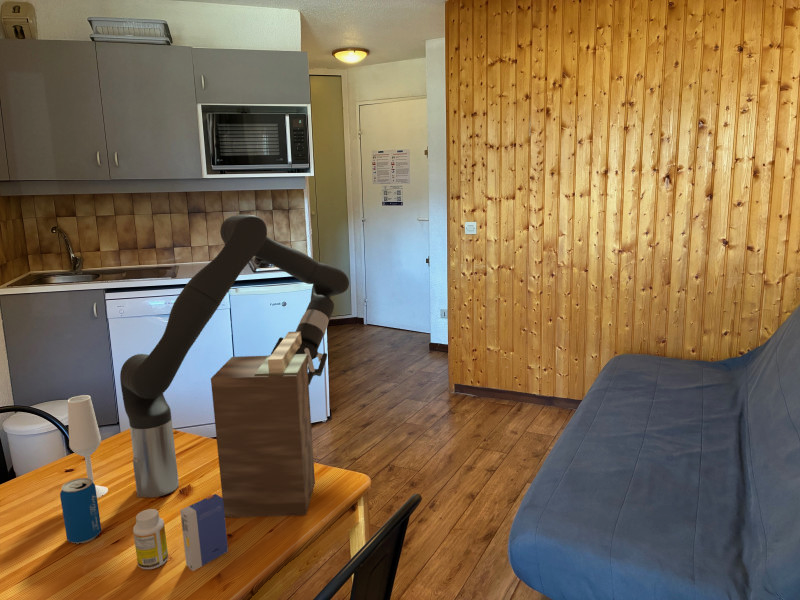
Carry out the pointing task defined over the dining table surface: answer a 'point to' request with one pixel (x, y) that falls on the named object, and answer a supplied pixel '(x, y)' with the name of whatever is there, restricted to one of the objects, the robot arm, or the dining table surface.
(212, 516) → the blue cardboard box
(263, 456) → the walnut stand
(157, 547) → the supplement bottle
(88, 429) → the champagne flute
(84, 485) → the beverage can
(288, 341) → the pale wooden plank
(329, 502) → the dining table surface
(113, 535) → the dining table surface
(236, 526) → the dining table surface
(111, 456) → the dining table surface
